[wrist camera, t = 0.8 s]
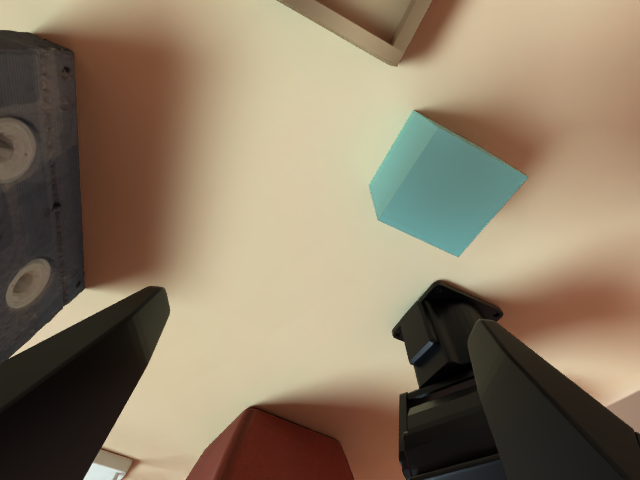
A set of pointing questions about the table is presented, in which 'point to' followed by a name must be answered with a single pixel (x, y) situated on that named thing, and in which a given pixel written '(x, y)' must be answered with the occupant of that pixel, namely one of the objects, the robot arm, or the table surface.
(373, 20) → the tray
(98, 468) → the file sorter
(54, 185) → the vhs cassette tape
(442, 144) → the cube
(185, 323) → the table surface
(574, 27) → the table surface
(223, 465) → the plant pot
